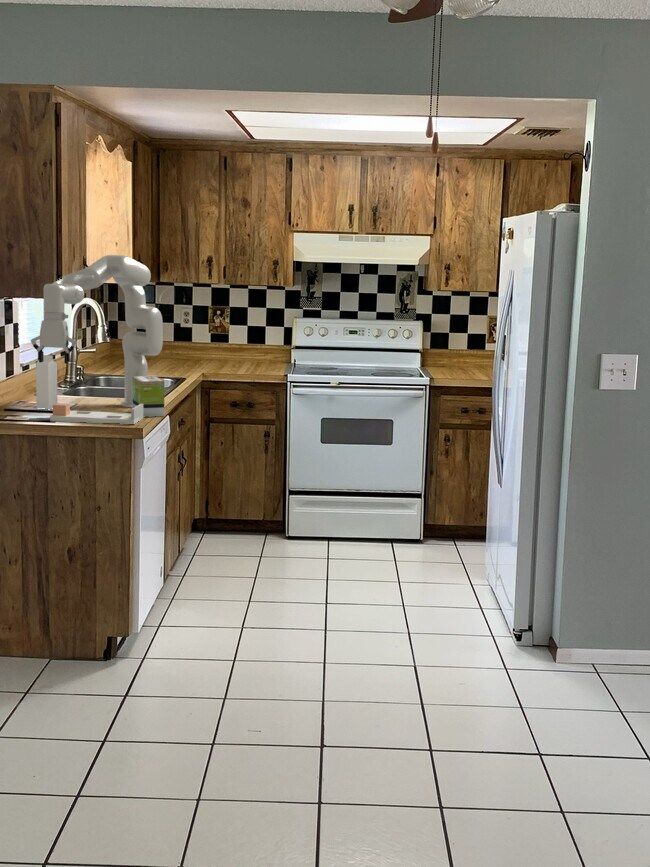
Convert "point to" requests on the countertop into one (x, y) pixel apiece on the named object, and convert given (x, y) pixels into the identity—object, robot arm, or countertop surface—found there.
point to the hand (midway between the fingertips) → (53, 362)
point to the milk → (46, 382)
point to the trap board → (102, 416)
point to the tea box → (149, 395)
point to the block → (61, 409)
